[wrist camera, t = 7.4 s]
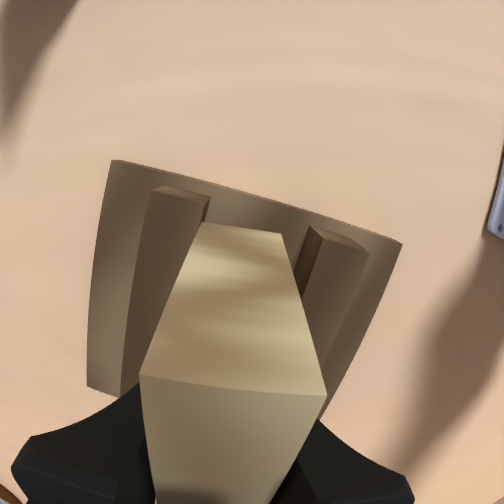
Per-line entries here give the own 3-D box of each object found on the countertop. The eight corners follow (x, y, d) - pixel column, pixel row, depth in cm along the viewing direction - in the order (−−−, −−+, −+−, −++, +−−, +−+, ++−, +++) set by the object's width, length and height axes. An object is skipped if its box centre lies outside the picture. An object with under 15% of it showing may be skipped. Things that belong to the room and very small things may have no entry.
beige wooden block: (281, 233, 12) (328, 395, 5) (242, 409, 16) (242, 544, 8) (201, 221, 12) (138, 373, 4) (186, 402, 16) (164, 536, 8)
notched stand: (393, 239, 15) (428, 259, 12) (306, 426, 18) (315, 466, 15) (119, 160, 14) (86, 160, 10) (92, 376, 17) (71, 412, 14)
